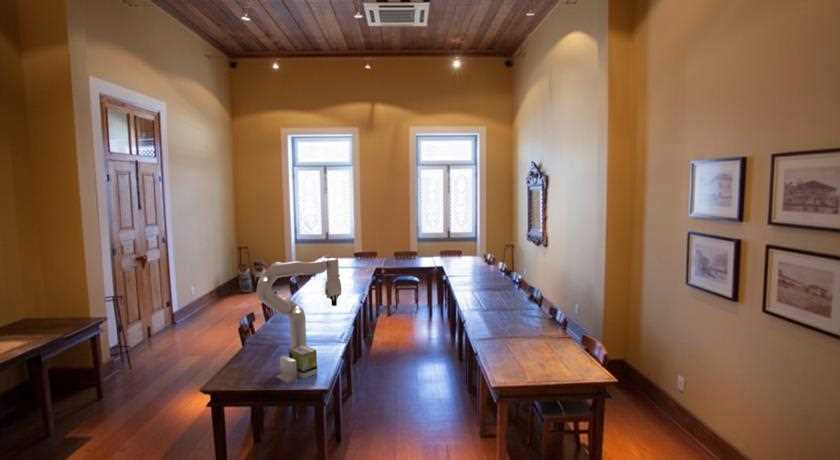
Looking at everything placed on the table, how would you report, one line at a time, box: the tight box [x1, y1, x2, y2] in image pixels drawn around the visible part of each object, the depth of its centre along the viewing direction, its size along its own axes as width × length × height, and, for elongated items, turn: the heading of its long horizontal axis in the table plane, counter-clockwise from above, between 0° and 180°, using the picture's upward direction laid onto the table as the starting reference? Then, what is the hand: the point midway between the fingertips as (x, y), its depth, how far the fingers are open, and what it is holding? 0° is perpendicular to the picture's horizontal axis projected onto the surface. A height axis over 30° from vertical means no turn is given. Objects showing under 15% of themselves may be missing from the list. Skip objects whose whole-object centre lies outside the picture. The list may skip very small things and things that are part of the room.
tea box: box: [288, 345, 318, 380], centre depth 270 cm, size 15×10×15 cm, turn 46°
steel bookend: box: [275, 354, 298, 385], centre depth 261 cm, size 12×6×12 cm, turn 48°
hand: (334, 305), depth 296 cm, fingers closed
